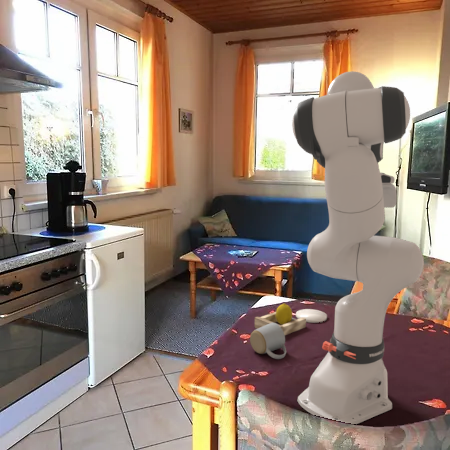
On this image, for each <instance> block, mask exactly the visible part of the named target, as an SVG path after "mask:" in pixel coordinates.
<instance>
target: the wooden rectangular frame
mask: <svg viewBox="0 0 450 450" xmlns="http://www.w3.org/2000/svg"><path fill="white" fill-rule="evenodd" d="M270 323H277V324H278V325H279V326H280V327H281V329H282V330H283V332H284V335H285V336H287V335H290V334H291V333H294V332H297V331H300V330H302V329H305V328H307V327H306V325H307V322H306V318H303V317H302V318H299V319H297V318H294V317H292V319H291V321H290V322H289V323H286V324H283V325H282V324H280V323H278V321H277V319H276V311H274V312H270V313H268V314H265V315H262V316H255V317H254V328H255V329H258V328H260V327H263V326H265V325H267V324H270Z"/></svg>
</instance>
